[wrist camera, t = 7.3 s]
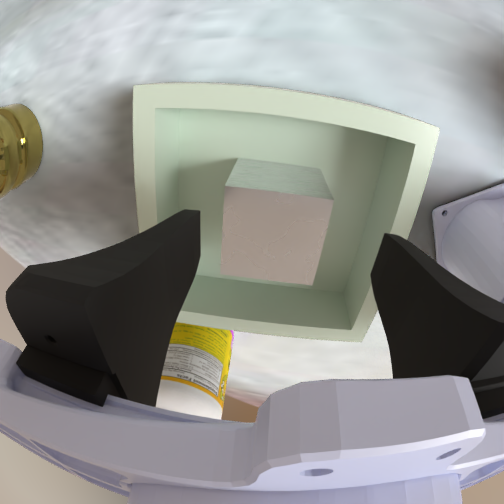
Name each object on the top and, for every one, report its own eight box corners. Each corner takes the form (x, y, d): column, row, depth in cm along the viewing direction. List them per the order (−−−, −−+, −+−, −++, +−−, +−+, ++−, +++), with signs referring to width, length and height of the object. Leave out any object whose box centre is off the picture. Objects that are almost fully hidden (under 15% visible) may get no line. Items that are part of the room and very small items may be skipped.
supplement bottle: (207, 354, 29) (181, 468, 19) (154, 319, 27) (107, 436, 17) (251, 325, 26) (234, 461, 16) (192, 283, 24) (143, 424, 14)
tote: (403, 114, 16) (440, 128, 11) (350, 297, 24) (361, 342, 20) (168, 82, 16) (133, 85, 12) (171, 275, 24) (151, 317, 20)
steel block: (320, 168, 17) (333, 200, 13) (306, 238, 20) (312, 285, 16) (238, 157, 17) (224, 185, 13) (232, 229, 20) (220, 274, 16)
